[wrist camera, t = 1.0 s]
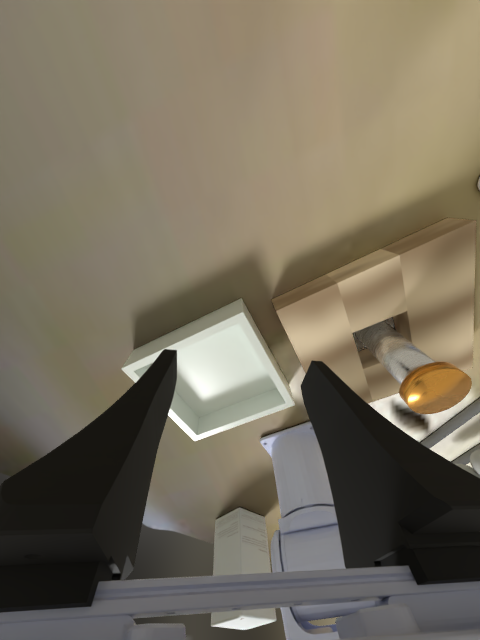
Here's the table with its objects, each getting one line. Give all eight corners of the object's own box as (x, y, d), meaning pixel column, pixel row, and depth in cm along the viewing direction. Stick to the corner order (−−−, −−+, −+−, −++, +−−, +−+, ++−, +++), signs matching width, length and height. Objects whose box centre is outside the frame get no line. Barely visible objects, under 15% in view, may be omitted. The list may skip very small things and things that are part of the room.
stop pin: (392, 335, 24) (471, 402, 16) (354, 350, 25) (411, 420, 17) (386, 304, 22) (472, 362, 14) (345, 321, 23) (405, 385, 15)
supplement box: (214, 519, 44) (208, 627, 33) (239, 505, 42) (242, 617, 31) (240, 529, 47) (243, 631, 36) (266, 516, 44) (278, 622, 33)
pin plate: (451, 353, 26) (472, 367, 23) (319, 400, 29) (326, 417, 26) (447, 217, 18) (476, 220, 16) (271, 299, 21) (275, 311, 19)
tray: (288, 384, 27) (295, 405, 24) (197, 419, 29) (194, 441, 27) (241, 298, 21) (242, 311, 19) (133, 349, 24) (121, 368, 21)
